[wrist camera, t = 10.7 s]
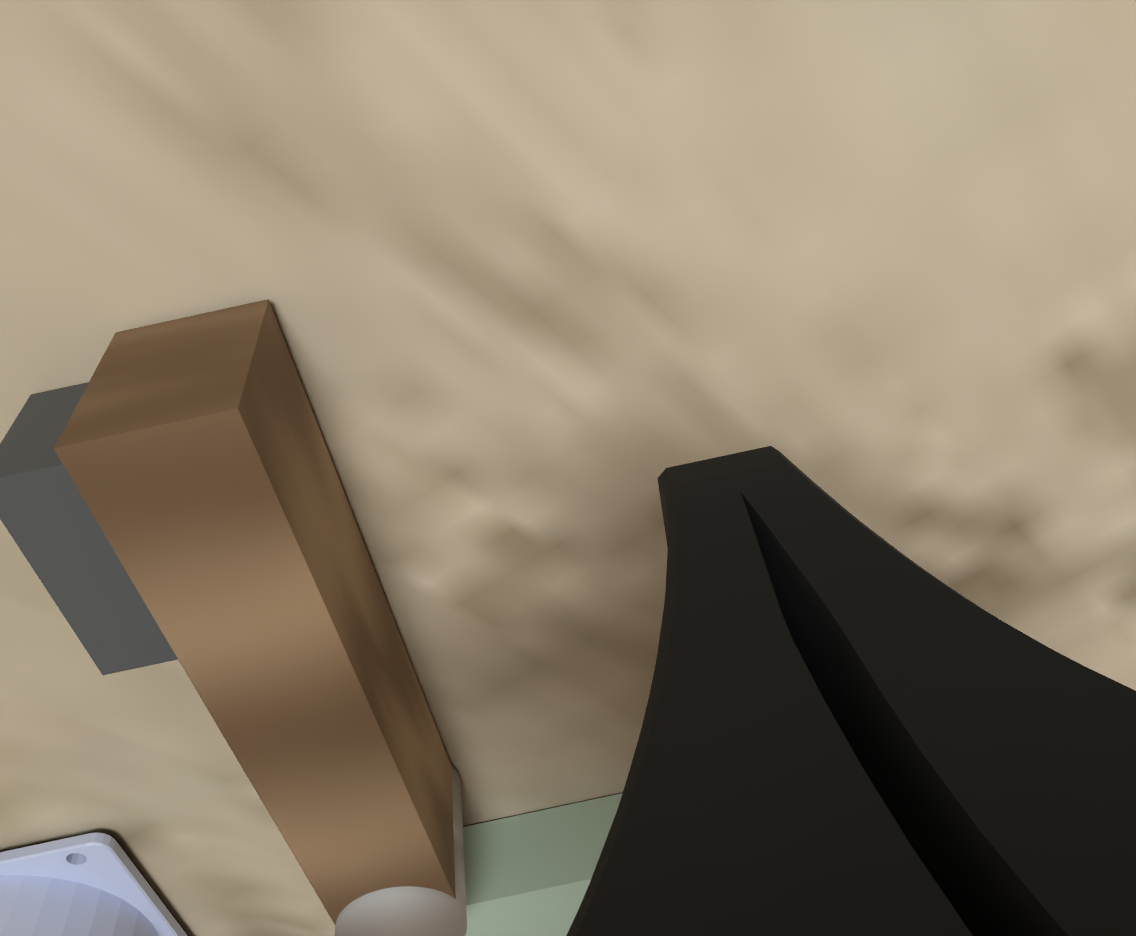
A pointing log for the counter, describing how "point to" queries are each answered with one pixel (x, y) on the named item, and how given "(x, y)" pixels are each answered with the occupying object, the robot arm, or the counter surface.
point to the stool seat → (533, 868)
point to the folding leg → (274, 608)
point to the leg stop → (72, 541)
